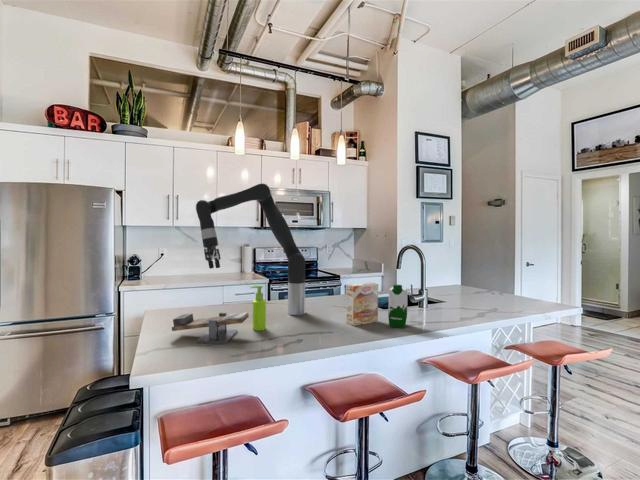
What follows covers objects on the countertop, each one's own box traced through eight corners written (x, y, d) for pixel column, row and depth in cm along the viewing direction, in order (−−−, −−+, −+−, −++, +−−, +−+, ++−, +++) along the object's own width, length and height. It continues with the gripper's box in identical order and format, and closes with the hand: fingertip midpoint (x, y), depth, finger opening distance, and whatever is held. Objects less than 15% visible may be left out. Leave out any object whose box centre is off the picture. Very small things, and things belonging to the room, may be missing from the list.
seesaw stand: (237, 332, 156) (237, 312, 156) (225, 343, 140) (225, 321, 140) (211, 331, 157) (211, 311, 157) (196, 343, 141) (196, 321, 141)
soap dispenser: (251, 327, 164) (251, 285, 163) (266, 326, 165) (266, 284, 164) (249, 330, 158) (249, 287, 158) (265, 330, 159) (265, 287, 158)
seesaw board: (248, 316, 152) (247, 306, 152) (242, 322, 142) (240, 311, 142) (183, 324, 154) (181, 314, 154) (172, 331, 144) (170, 320, 144)
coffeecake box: (353, 326, 167) (353, 285, 166) (345, 322, 173) (345, 283, 172) (378, 322, 174) (378, 283, 173) (370, 319, 180) (370, 281, 179)
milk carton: (387, 327, 165) (387, 285, 165) (389, 322, 174) (390, 282, 173) (406, 328, 163) (406, 286, 162) (407, 324, 171) (408, 283, 170)
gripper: (210, 235, 175) (216, 267, 174) (221, 237, 189) (226, 266, 188) (196, 238, 176) (202, 270, 175) (208, 240, 190) (213, 269, 189)
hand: (215, 268), depth 182 cm, fingers open, 8 cm apart
